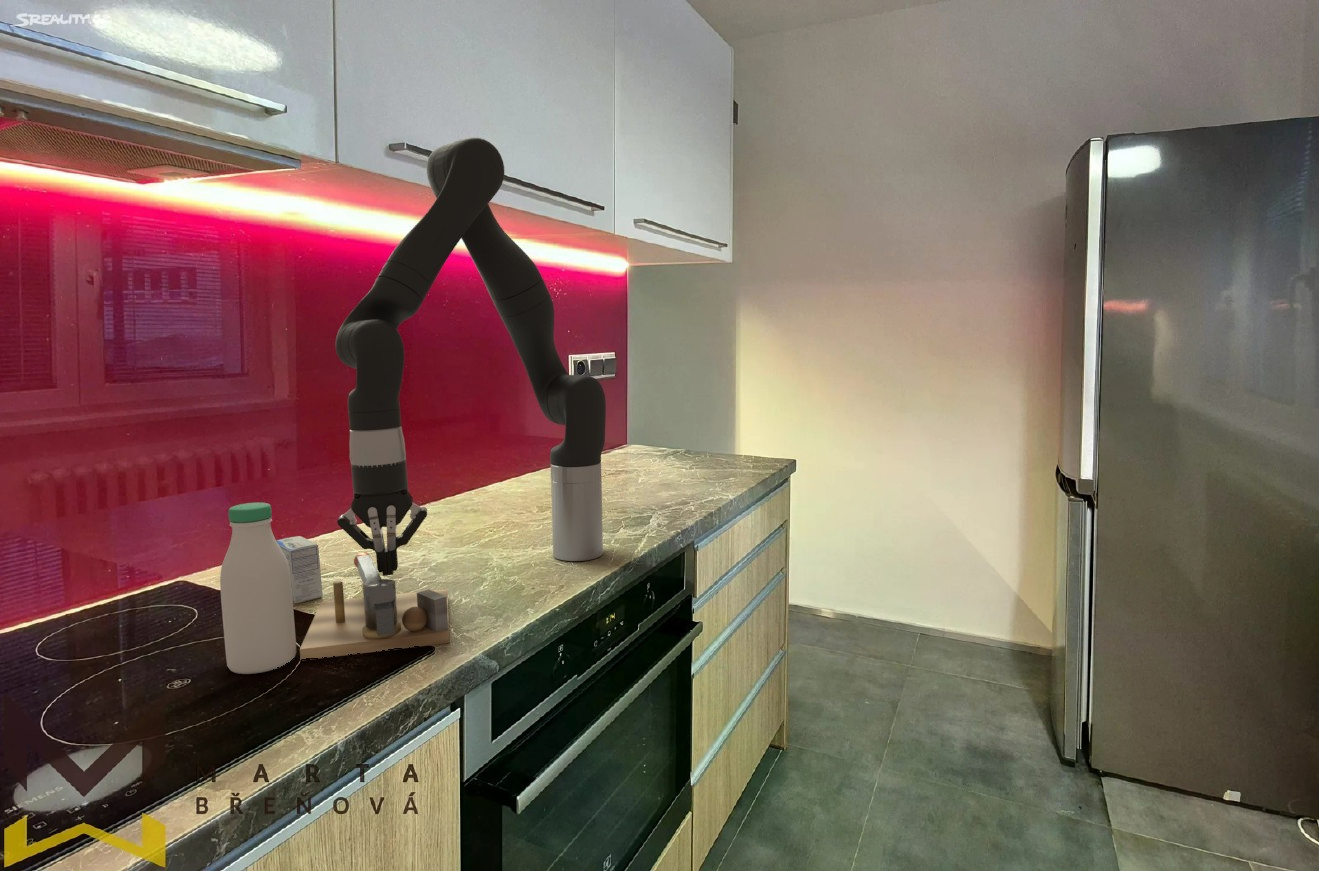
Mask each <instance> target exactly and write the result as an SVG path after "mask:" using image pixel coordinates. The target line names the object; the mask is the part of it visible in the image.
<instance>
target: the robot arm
mask: <svg viewBox="0 0 1319 871" xmlns="http://www.w3.org/2000/svg"><path fill="white" fill-rule="evenodd" d="M426 176H427V181H428V183H429V186H430V189H431V191H432V192H433V194H434V197H435V198H436V199H435V201H434V202H433V204H432V205H431V207H430V208H429V209H428V210H427V212H426V213H425V214H424V215H423V216H422V218H421V219H420V220H419V221H418V222H417V223H416V224H415V225H414V226H413V228H412V229H410V231H409V232H407V234H405V236H404V237H403V238H402V239H401V241H400V242H399V243H398V244H397V246H395V248H394V250H393V251H392V252H391V254H390V255H389V257H388V259H387V260H386V262H385V263H384V265H383V267H382V268H381V270H380V272H379V274H378V276H377V277H376V279H375V281H374V283H373V285H372V287H371V289H369V291H368V292H367V293H366V294H365V295H364V297H362V299H360V301H359V302H358V304H356V306H355V307H354V308H353V309H352V310H351V311H350V313H349V314H348V316H347V317H346V318H345V319H344V321H343V322H342V324H341V326H340V327H339V329H338V332H337V335H336V338H335V352H336V355H337V357H338V359H339V360H340V361H341V362H342V363H343V364H344V365H346V366H348V367H350V368H352V369H355V370H356V379H355V388H354V389H352V390H351V391H350V392H349V393H348V396H347V410H348V414H347V415H348V424H349V454H348V455H349V457H348V458H349V461H350V468H351V479H352V491H353V499H352V502H351V503H350V509H348V510H347V511H346V512H345V513H344V514H341V515H340V516H338V518H337V522H336V524H337V525H338V526H339V527H340V528H341V529H342V530H343V531H344V532H345V533H346V534H347V535H349V537H350V538H351V539H352V540H353V541H354V542H355V543H356V544H358V545H359V546H360V548H362V549H363V550H372V551H374V553H375V558H376V569H377V571H378V573H382V576H383V577H385V576H393V575H394V572H395V571H397V570H398V566H399V561H398V560H399V559H398V548H400V547H402V546H406V545H407V544H408V543H409V542H410V540H411V539H412V538H413V536H414V535H415V533H416V532H417V531H418V529H419V527H420V526H421V524H422V523H423V522H424V520H425V519H427V517H428V509H427V508H426V507H425V506H419V504H416V502H414V500H413V497H412V495H411V493H410V491H409V483H408V481H409V480H408V470H407V469H408V467H407V455H406V454H407V452H406V442H405V436H404V433H403V427H402V415H401V406H400V404H401V403H400V393H401V389H402V388H401V387H402V384H403V381H402V380H403V375H404V367H405V347H404V342H403V338H402V337H401V333H400V332H399V331H398V328H399V326H401V325H402V323H403V322H404V321H406V320H409V319H410V318H412V317H414V315H416V313H417V312H418V310H419V309H420V308H421V306H422V304H423V302H424V300H425V298H426V297H427V296H428V293H429V292H430V289H431V288H432V286H433V285H434V283H435V281H436V278H437V277H438V276H439V274H440V271H441V270H442V269H443V267H444V265H445V263H446V262H447V261H448V258H449V257H450V255H451V254H452V253H453V251H454V249H455V248H456V246H457V245H458V243H459V242H460V240H462V242H463V243H464V245H465V248H466V250H467V252H468V253H469V256H470V258H471V259H472V260H471V261H472V263H473V264H474V266H475V268H476V270H477V271H478V273H479V275H480V277H481V279H482V281H483V283H484V285H485V288H486V290H487V292H488V294H489V296H490V299H491V300H492V301H491V302H492V303H493V305H494V306H495V308H496V310H497V311H496V312H497V313H498V315H499V317H500V319H501V320H502V323H503V325H504V326H505V328H506V330H507V332H508V335H510V338H511V340H512V342H513V345H514V348H515V349H516V351H517V353H518V355H519V357H520V359H521V362H522V363H523V366H524V369H525V371H526V373H527V376H528V379H529V381H530V384H531V387H532V389H533V393H534V395H535V398H536V401H537V403H538V406H539V407H540V410H541V412H542V413H543V415H544V417H546V419H547V420H549V421H550V422H551V423H554V424H556V425H559V426H560V425H562V426H564V427H565V428H564V439H563V440H562V442H560V443H559V444H557V445H555V446H554V447H552V448H551V449H550V454H549V460H550V461H549V463H550V485H551V486H550V487H551V488H550V489H551V492H550V493H551V495H550V496H551V520H552V521H551V525H552V527H551V528H552V530H551V531H552V556H553V557H554V558H555V559H557V560H561V561H568V562H584V561H590V560H593V559H597V558H599V557H602V556H603V555H604V554H603V553H604V543H603V542H604V539H603V538H604V536H603V535H604V534H603V533H604V532H603V530H604V529H603V492H602V491H603V486H602V484H603V483H602V482H603V481H602V453H603V450H604V447H605V444H606V423H607V422H606V421H607V420H606V419H607V417H606V416H607V414H606V413H607V401H606V395H605V391H604V388H603V386H602V384H601V382H600V381H599V380H598V379H597V378H595V377H593V376H589V375H585V374H584V375H583V374H581V375H580V374H577V375H576V374H569V373H568V371H567V370H566V368H565V366H564V364H563V361H562V360H561V358H560V355H559V354H558V351H557V348H556V345H555V338H554V336H555V308H554V303H553V299H552V296H551V293H550V291H549V289H548V287H547V285H546V283H545V281H544V278H543V276H542V273H541V272H540V270H539V268H538V266H537V265H536V264H535V262H534V261H533V260H532V258H531V257H529V255H528V253H526V252H525V251H524V250H523V248H521V247H520V246H519V245H518V244H517V243H516V242H515V241H514V240H513V239H512V238H511V237H510V236H509V235H508V234H507V233H506V232H505V230H504V229H503V227H501V225H500V223H499V222H498V220H497V219H496V217H495V215H494V212H493V211H492V209H491V207H490V204H489V203H490V202H491V201H492V199H493V198H494V197H495V196H496V194H497V193H498V192H499V190H500V189H501V187H502V185H503V183H504V178H505V164H504V160H503V158H502V155H501V152H499V150H498V148H497V147H496V146H495V145H494V144H492V143H491V142H490V141H488V140H486V139H484V138H481V137H468V138H467V137H466V138H462V139H459V140H456V141H453V142H450V143H447V144H445V145H441V146H439V147H437V148H435V149H434V150H433V151H432V152H431V153H430V155H429V156H428V158H427V161H426ZM409 510H410V513H409V518H410V519H411V520H410V522H409V523H408V525H407V526H406V527H405V529H404V530H403V531H402V532H401V534H400V535H398V536H397V531H398V530H397V526H399V525H400V524H401V523H402V521H403V520H404V518H405V516H406V515H407V514H408V512H409ZM355 515H356V516H355ZM356 517H357V518H358V519H359V520H360V521H361V522H362V523H363V524H364V525H365V526H366V527H367V528H370V530H371V537H372V538H370V536H369V535H368V534H366V532H364V530H362V528H361V527H360V526H359V525H357V521H358V520H357V518H356ZM383 528H386V543H385V539H384V533H383V532H384V531H383V530H384V529H383ZM385 544H386V545H385Z"/></svg>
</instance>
